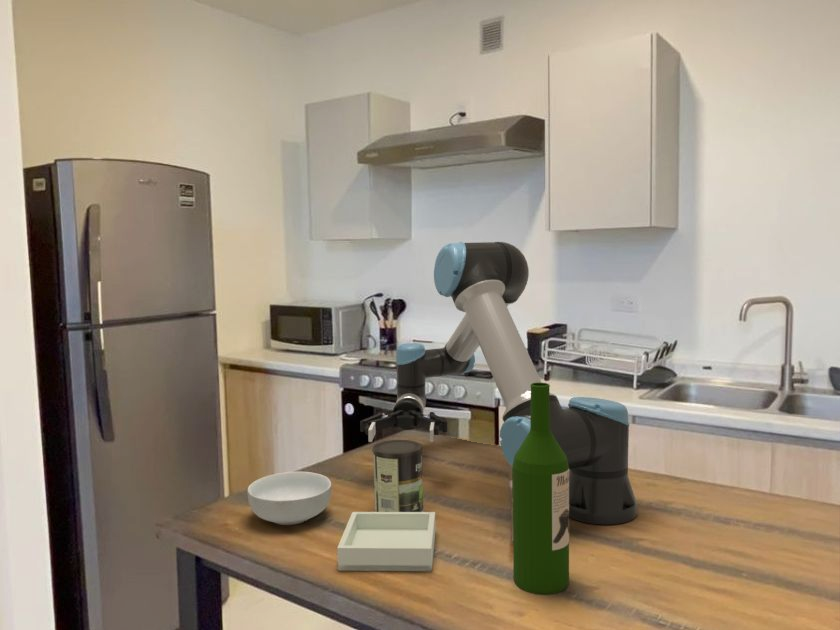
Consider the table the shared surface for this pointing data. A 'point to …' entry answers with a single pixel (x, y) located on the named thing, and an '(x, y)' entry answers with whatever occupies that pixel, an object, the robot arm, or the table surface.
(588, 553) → the table surface
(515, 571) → the wine bottle
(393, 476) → the coffee can
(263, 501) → the cereal bowl
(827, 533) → the table surface
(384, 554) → the tray
